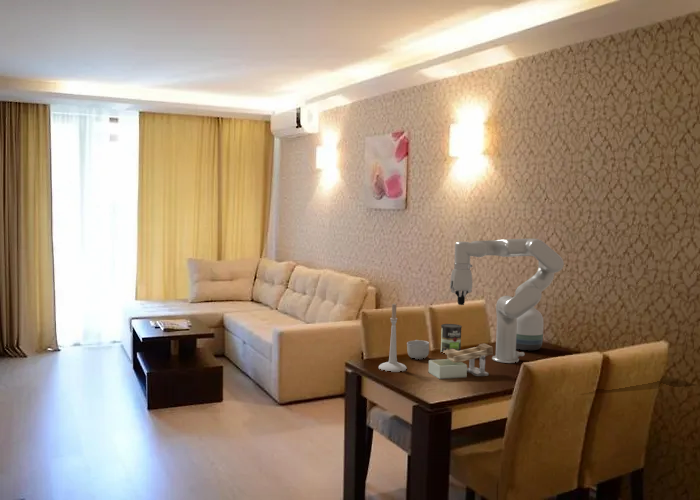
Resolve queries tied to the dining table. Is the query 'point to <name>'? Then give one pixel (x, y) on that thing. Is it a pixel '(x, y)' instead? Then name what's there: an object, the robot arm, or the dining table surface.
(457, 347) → the coffee can
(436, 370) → the pale green open box
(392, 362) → the candlestick
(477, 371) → the lever stand
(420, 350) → the teacup
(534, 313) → the vase
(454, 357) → the lever
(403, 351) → the dining table surface
